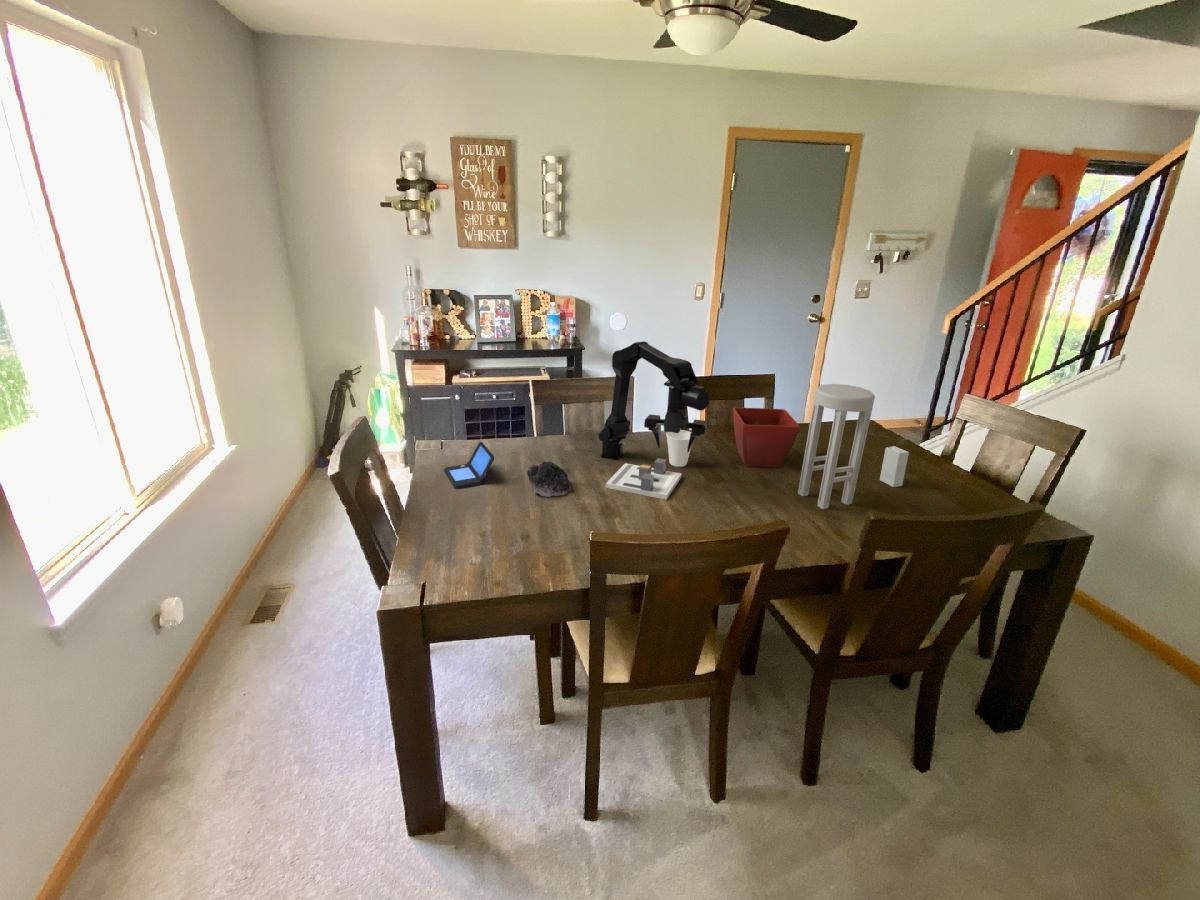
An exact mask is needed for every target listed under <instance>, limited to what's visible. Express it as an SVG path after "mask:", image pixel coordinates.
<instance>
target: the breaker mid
mask: <svg viewBox="0 0 1200 900" xmlns="http://www.w3.org/2000/svg"><path fill="white" fill-rule="evenodd" d="M639 466H640V468H639V479H640V480H641V478H642V476H643V475H644V474H650V475H651V468H652V465H651V464H645V463H643V464H641V465H639Z"/></svg>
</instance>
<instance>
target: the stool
mask: <svg viewBox="0 0 1200 900" xmlns="http://www.w3.org/2000/svg"><path fill="white" fill-rule="evenodd" d="M875 398H876V395H875V394H874V393H873V392H872V391H871V390H869V389H866V388H863V387H861V386H855V385H849V384H842V383H841V384H840V383H827V384H821V385H819V386H818V387H816V389H815V392H814V398H813V404H812V409H811V415H810V421H809V427H808V433H807V437H806V443H805V444H806V445H805V449H804V455H803V460H802V461H803V462H802V467H801V472H800V479H799V485H798V489H797V490H798V491H797V494H798V495H800V496H801V497H806V496H809V494H810V487H811V482H812V477H813V476H812V475H813V472H815V471H822V470H823V471H822V472H823V473H822V478H821V483H820V484H821V485H820V489H819V494H818V500H817V505H816V506H817V507H819V508H820V509H822V510H825V509H829V505H830V501H831V497H832V496H831V495H832V490H833V485H834V483H838V482H844V485H843V489H842V495H841V500H840V503H843V504H844V505H845V506H849V505H852V504H853V501H854V495H855V492H856V488H857V483H858V478H859V473H860V468H861V463H862V459H863V454H864V450H865V449H864V448H865V445H866V440H867V435H868V431H869V426H870V421H871V417H872V413H873V407H874V403H875ZM825 408H826V409H830V410H834V415H833V421H832V426H831V431H830V436H829V441H828V446H827V447H828V448H827V452H826V455H820V456H817V455H816V454H817V448H818V445H819V444H818V443H819V439H820V438H819V437H820V434H821V433H820V432H821V427H822V422H823V421H822V420H823V415H824V411H825ZM848 412H852V413H858V418H857V422H856V427H855V432H854V435H853V441H852V447H851V451H850V457H849V460H848V465H845V466H840V467H837V465H838V461H839V455H840V451H841V445H842V439H843V436H844V430H845V426H846V420H847V416H848V415H847V414H848ZM821 461H822V462H823V461H825V463H824V464H819V465H814V464H815V462H821ZM845 472H846V475H841V476H836V474H839V473H845Z"/></svg>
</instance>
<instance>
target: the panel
mask: <svg viewBox="0 0 1200 900" xmlns="http://www.w3.org/2000/svg"><path fill="white" fill-rule="evenodd" d="M640 466H641V465H636V464H631V463H624V464H623V465H622V466H621V467H620V468H619V469H618V470H617V471H616V472H615V473H614V474H613V475H612V477H611V478H609V480H608V481H607V482H606V483H605V488H606V489H612V490H616V491H621V492H627V493H631V494H636V495H641V496H645V497H646V496H647V497H651V498H657V499H662V500H668V498H669V497H670V495H671V493H672V492H673V491H674V489H675V488H676V487H677V485H678V483H679V481H681V479H682V473H681V472H675V471H670V470H666V471H665V472H664V473H663V475H662V474H657V473H654V467H651V475H654V483H653V488H652V489H651V490H650V491H645V490H641V480H640V479H639V468H640Z"/></svg>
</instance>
